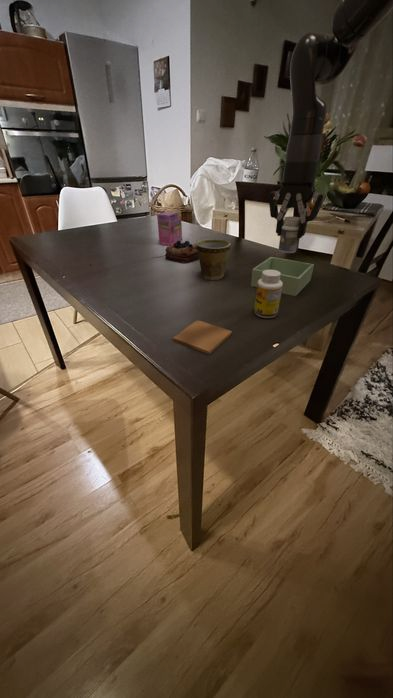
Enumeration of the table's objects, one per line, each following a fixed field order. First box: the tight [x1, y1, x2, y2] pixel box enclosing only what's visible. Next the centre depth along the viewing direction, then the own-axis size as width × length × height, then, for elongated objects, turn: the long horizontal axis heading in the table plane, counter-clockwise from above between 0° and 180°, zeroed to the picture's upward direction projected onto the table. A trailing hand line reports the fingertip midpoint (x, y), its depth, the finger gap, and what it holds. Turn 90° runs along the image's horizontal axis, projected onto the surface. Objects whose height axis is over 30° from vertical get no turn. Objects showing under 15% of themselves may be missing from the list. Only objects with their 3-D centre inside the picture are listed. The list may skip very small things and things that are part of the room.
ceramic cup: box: [195, 238, 231, 281], centre depth 87 cm, size 13×10×10 cm
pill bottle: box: [278, 216, 301, 254], centre depth 75 cm, size 5×5×8 cm
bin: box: [250, 256, 315, 297], centre depth 81 cm, size 13×13×5 cm
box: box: [156, 209, 183, 247], centre depth 118 cm, size 10×6×12 cm, turn 155°
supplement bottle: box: [253, 270, 283, 319], centre depth 65 cm, size 6×6×10 cm
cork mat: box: [172, 319, 233, 356], centre depth 59 cm, size 9×9×1 cm
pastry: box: [164, 240, 199, 264], centre depth 102 cm, size 11×12×6 cm
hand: (289, 236), depth 75 cm, fingers closed on pill bottle, 4 cm apart
